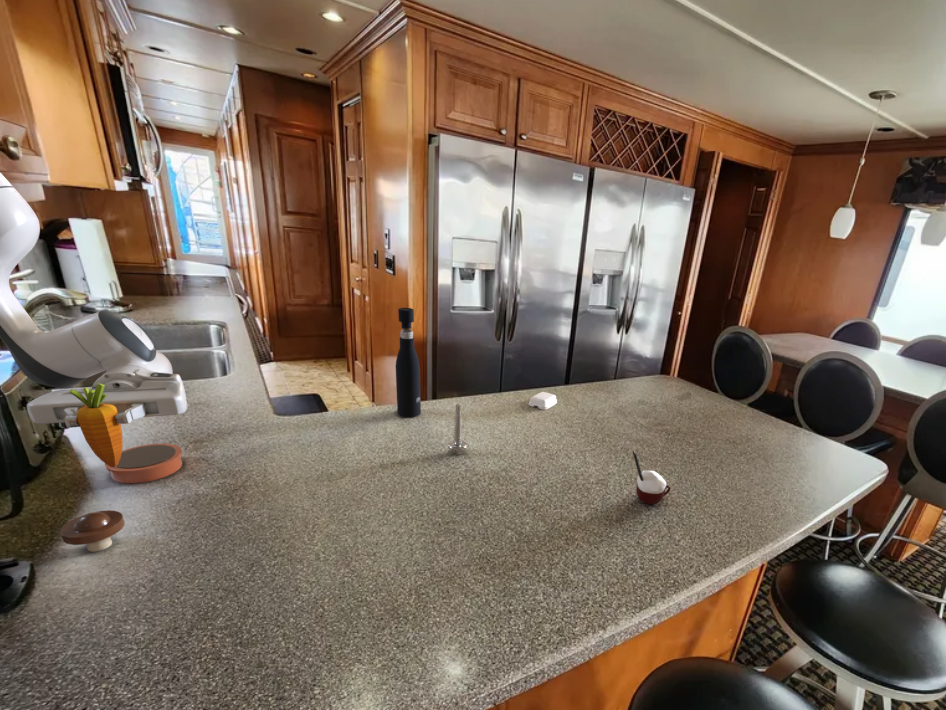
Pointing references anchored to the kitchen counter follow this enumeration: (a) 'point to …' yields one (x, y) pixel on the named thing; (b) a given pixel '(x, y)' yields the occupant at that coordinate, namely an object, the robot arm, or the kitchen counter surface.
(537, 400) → the soap
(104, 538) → the mushroom
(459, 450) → the screw
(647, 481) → the cocoa
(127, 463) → the pot
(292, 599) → the kitchen counter surface
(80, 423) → the carrot
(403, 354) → the black water bottle
